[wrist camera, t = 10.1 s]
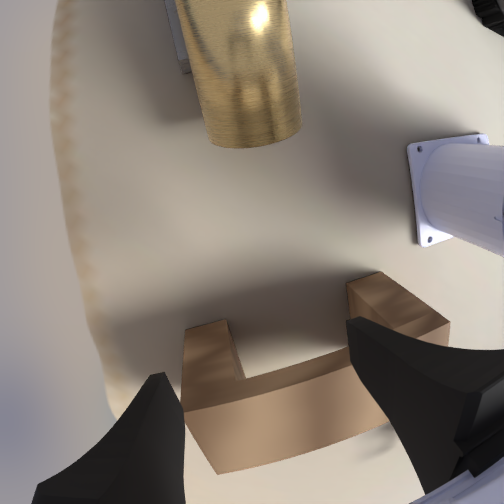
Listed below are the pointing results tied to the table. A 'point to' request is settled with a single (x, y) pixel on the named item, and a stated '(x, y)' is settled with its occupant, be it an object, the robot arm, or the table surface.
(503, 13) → the cpu cooler
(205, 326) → the wooden bridge block
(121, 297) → the table surface
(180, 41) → the v block
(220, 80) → the brass cylinder
